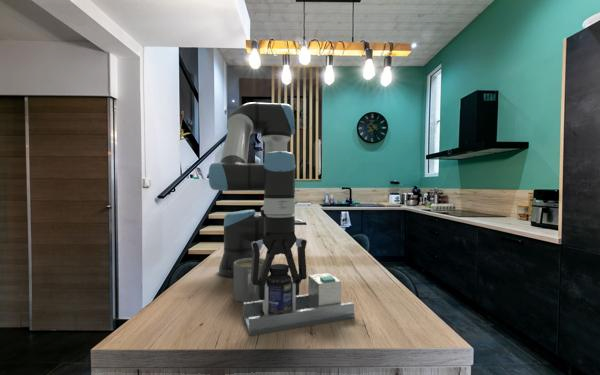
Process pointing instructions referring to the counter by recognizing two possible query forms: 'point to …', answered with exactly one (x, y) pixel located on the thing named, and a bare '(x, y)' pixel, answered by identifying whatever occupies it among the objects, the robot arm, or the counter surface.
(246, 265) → the coffee mug
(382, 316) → the counter surface
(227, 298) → the counter surface
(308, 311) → the rail
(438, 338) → the counter surface
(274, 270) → the pill bottle
